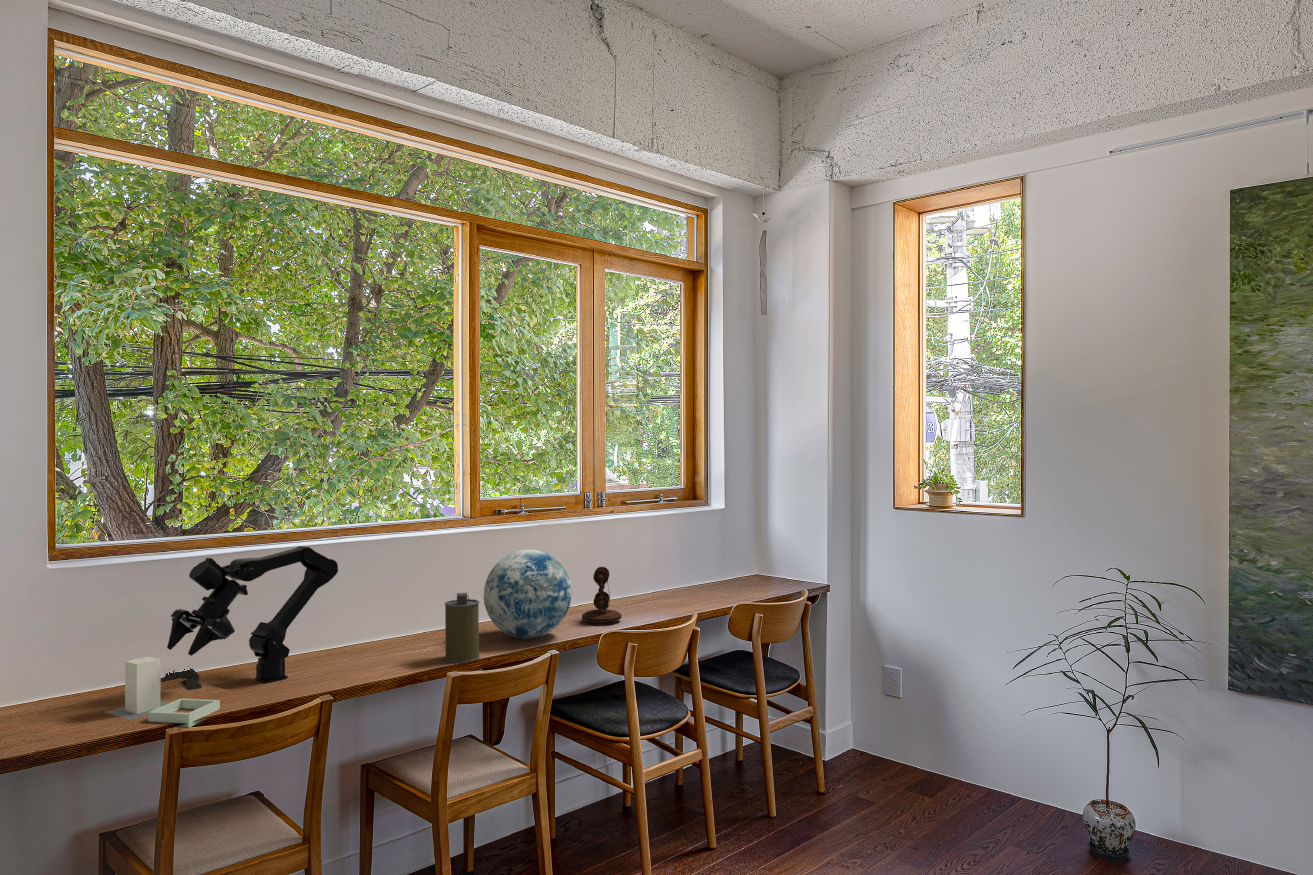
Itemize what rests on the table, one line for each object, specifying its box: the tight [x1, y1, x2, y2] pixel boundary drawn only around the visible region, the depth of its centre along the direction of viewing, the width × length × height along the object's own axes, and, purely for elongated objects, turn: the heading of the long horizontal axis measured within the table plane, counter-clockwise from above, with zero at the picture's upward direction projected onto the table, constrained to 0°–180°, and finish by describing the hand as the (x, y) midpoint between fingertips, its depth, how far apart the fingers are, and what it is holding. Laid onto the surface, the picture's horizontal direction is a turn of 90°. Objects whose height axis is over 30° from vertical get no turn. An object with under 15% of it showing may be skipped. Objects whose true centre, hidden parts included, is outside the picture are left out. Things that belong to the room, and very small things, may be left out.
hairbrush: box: [163, 668, 203, 691], centre depth 225 cm, size 8×4×25 cm
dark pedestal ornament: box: [581, 566, 622, 625], centre depth 303 cm, size 15×15×20 cm
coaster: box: [104, 699, 170, 721], centre depth 201 cm, size 12×12×1 cm
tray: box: [147, 698, 221, 729], centre depth 196 cm, size 11×11×3 cm
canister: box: [444, 592, 480, 664], centre depth 251 cm, size 11×10×20 cm
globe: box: [483, 549, 573, 639], centre depth 278 cm, size 30×30×30 cm
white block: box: [124, 656, 161, 714], centre depth 201 cm, size 6×6×12 cm
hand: (179, 651), depth 208 cm, fingers open, 9 cm apart
